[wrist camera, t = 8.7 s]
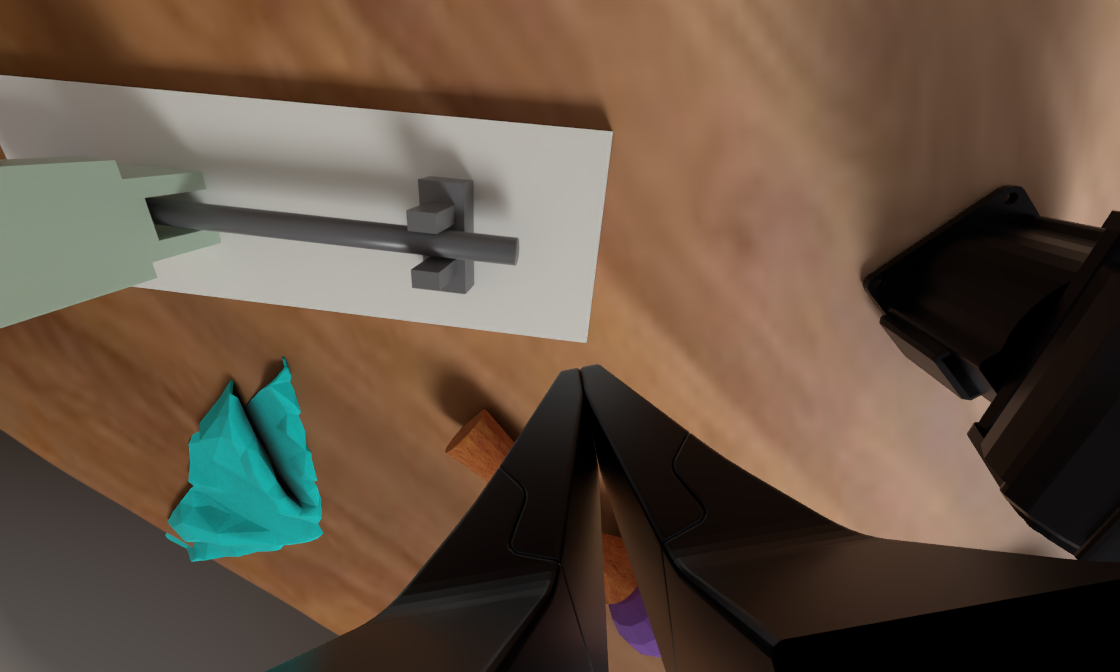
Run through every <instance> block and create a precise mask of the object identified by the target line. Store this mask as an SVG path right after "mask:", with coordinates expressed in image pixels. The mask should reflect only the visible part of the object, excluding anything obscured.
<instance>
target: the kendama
mask: <svg viewBox="0 0 1120 672" xmlns="http://www.w3.org/2000/svg"><path fill="white" fill-rule="evenodd" d="M513 444H514V442H513V441H512V439H511V438H510V437H509V436H508V435H507V434H506V432H505V431H504V430H503V429H502V428H501V427H500V426H499V424H498V423H497V422H496V421H495V420H494V419H493V417H492V416H491V415H490V414H489V413H488V412H487V410H486V409H482V410H481V411H480V412H479V413H478V414H477V415H475V416H474V417H473V418H472V419H471V420H470V421H468V422H467V423H466V424H465V425H464V426H463V427H462V428H461V430H460V431H459V432H458V433H457V434H456V435H455V437H454V438H453V439H452V440H451V442H450V443H449V445H448V446H447V448H446V451H445V452H446V453H447V454H449V455H450V456H452V457H453V458H455V459H456V460H457V461H459V462H460V463H462V464H463V465H465V466H466V467H468V468H469V469H470V470H472V471H473V472H475V473H476V474H478V475H479V476H481V477H482V478H483V479H485V480H486V481H488V482H489V481H490V480H491V478H492V476H493V475H494V473H495V472H496V470H497V469H498V468H500V464H501V463H502V461H503V460H504V458H505V457H506V455H507V454H508V452H509V451H510V449H511V447H512V446H513ZM602 547H603V568H604V588H605V603H606V604H609V609H610V612H611V615H612V619H613V621H614V623H615V625H616V628H617V630H618V632H619V634H620V635H621V636H622V637H623V638H624V639H625V640H626V641H627V642H628V643H629V644H630V645H631V646H633V647H634V648H635V649H636V650H637V651H638V652H639V653H641V654H644V655H650V656H655V657H661V655H660V652H659V649H658V646H657V642H656V639H655V636H654V633H653V630H652V627H651V624H650V621H649V618H648V615H647V612H646V609H645V606H644V603H643V600H642V597H641V594H640V591H639V588H638V585H637V582H636V579H635V576H634V573H633V570H632V567H631V564H630V561H629V557H628V554H627V551H626V548H625V545H624V542H623V539H622V537H618V536H613V535H609V534H605V533H602Z"/></svg>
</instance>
